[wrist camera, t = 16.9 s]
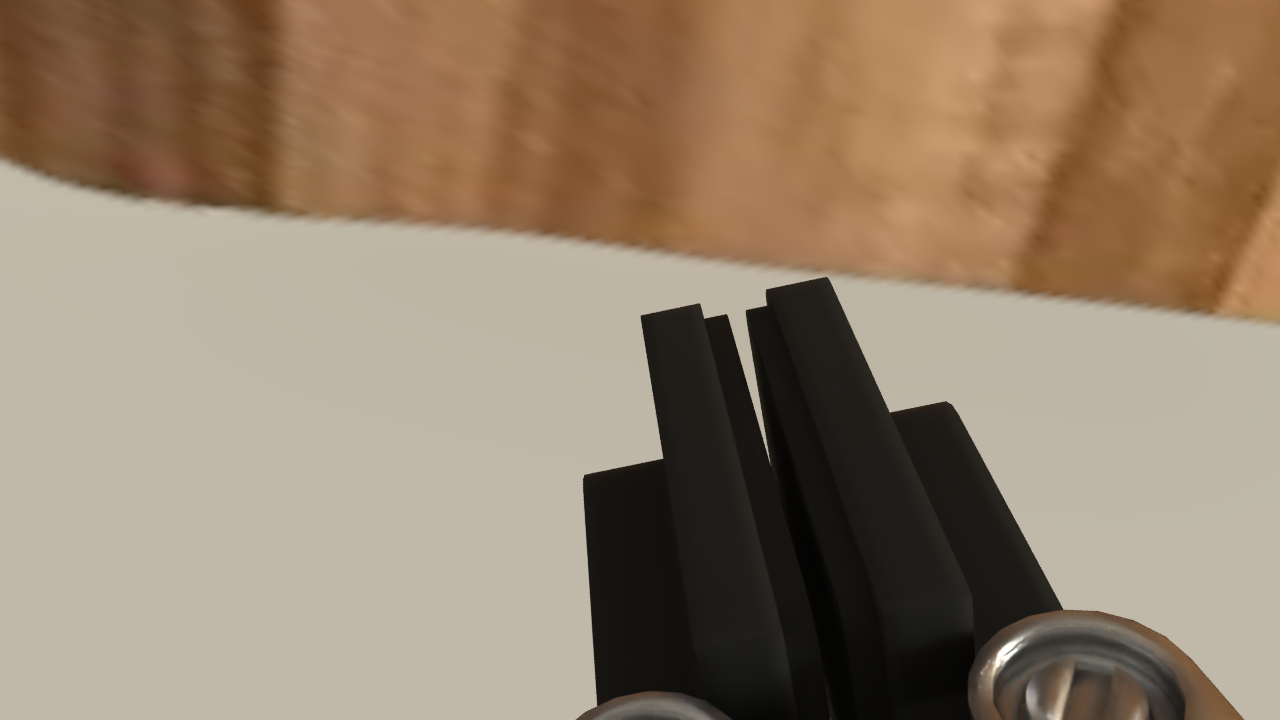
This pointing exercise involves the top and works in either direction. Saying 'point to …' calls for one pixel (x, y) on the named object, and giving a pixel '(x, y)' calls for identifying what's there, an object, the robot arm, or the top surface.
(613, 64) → the top surface
